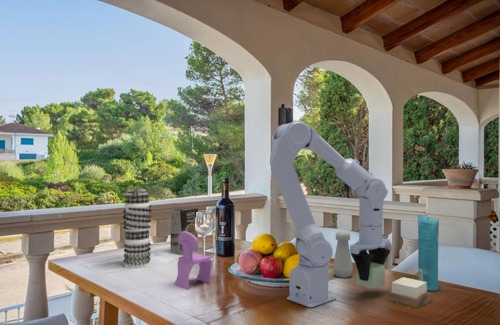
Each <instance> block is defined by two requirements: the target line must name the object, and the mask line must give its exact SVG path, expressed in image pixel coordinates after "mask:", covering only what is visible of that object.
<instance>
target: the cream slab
mask: <svg viewBox="0 0 500 325" xmlns="http://www.w3.org/2000/svg"><path fill="white" fill-rule="evenodd" d="M391 291H392V293H395V294H400V295H404V296H408V297H412V298H418V297H420V296H421V295H423V294H425V293H426V292H428V290H427V282H424V281H419V280H418V279H414V278H408V277H404V276H403V277H400V278H399V279H396V280H393V281H392V282H391Z"/></svg>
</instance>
